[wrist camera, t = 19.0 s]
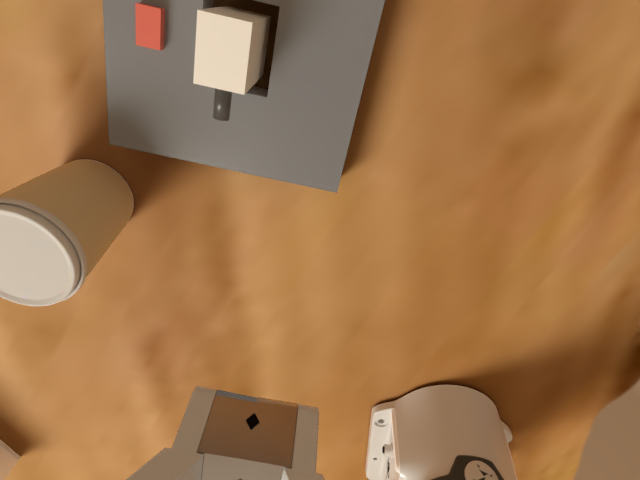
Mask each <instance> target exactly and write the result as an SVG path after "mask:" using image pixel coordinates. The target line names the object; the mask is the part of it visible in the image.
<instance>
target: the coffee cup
mask: <svg viewBox="0 0 640 480" xmlns="http://www.w3.org/2000/svg"><path fill="white" fill-rule="evenodd" d="M133 209H134V198H133V194H132V191H131V189H130V187H129V185H128V184H127V182H126V181H125V179H124V178H123V177H122V176H121V175H120V174H119V173H118V172H117V171H115V170H114V169H113V168H111V167H110V166H108V165H106V164H104V163H102V162H99V161H95V160H90V159H79V160H74V161H71V162H69V163H66V164H64V165H62V166H59V167H57V168H55V169H53V170H51V171H49V172H47V173H45V174H43V175H40V176H38V177H36V178H34V179H32V180H30V181H28V182H26V183H24V184H21V185H19V186H17V187H15V188H13V189H11V190H9V191H7V192H5V193H3V194H1V195H0V297H2V298H4V299H6V300H9V301H12V302H15V303H18V304H22V305H28V306H47V305H52V304H55V303H58V302H61V301H64V300H66V299H68V298H69V297H71V296H72V295H74V294H75V293H76V292H77V291H78V290H79V289H80V287H81V286H82V284H83V283H84V280H85V278H86V277H87V276H88V274H89V273H90V272H91V270H92V269H93V268H94V267H95V265H96V264H97V263H98V261H99V260H100V259H101V257H102V256H103V255H104V253H105V252H106V251H107V249H108V248H109V247H110V245H111V244H112V243H113V241H114V240H115V239H116V237H117V236H118V235H119V233H120V232H121V230H122V229H123V228H124V226H125V225H126V224H127V222H128V221H129V219H130V217H131V215H132V213H133Z"/></svg>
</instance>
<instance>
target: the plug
mask: <svg viewBox="0 0 640 480" xmlns="http://www.w3.org/2000/svg"><path fill="white" fill-rule="evenodd" d="M270 21H271V16H268V15H264V14H259V13H255V12H251V11H247V10H242V9H238V8H234V7H230V6H223V7H215V8H207V9H199V10H197V25H196V42H195V60H194V78H193V83H194V84H198V85H203V86H207V87H211V88H215V96H214V108H213V118H214V119H216V120H220V121H228V120H229V118H230V108H231V99H232V92H234V93H238V94H243V95H245V94H246V93H247V92H248V90H249V89H250V88H251V87H252V86H253V85H254V84H255V83H256V82H257V81H258V80H259V79H260V78H261V77H262V76H263V74H264V66H265V59H266V51H267V44H268V36H269V29H270Z"/></svg>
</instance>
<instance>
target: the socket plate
mask: <svg viewBox="0 0 640 480" xmlns="http://www.w3.org/2000/svg"><path fill="white" fill-rule="evenodd" d="M254 1H258V2H263V3H267V4H271V5H275V6H279V7H280V10H279V17H278V24H277V31H276V38H275V45H274V52H273V59H272V67H271V74H270V81H269V88H268V89H265V88H261V87H256V86H252V87H251V88H250V89H249V90H248V92H247V93H246V94H245V95H243V94H238V93H234V92H232V99H231V108H230V118H229V120H228V121H220V120H216V119H214V118H213V108H214V96H215V88H211V87H207V86H203V85H198V84H194V83H193V78H194V60H195V42H196V25H197V10H199V9H207V8H214V0H103V16H104V39H105V62H106V85H107V109H108V132H109V144H110V145H115V146H120V147H124V148H129V149H134V150H139V151H143V152H148V153H153V154H157V155H162V156H167V157H172V158H176V159H181V160H186V161H190V162H195V163H200V164H204V165H209V166H214V167H219V168H223V169H228V170H233V171H237V172H242V173H247V174H252V175H256V176H261V177H266V178H270V179H275V180H280V181H285V182H289V183H294V184H299V185H303V186H308V187H313V188H317V189H322V190H327V191H332V192H336V193H337V191H338V187H339V183H340V179H341V175H342V171H343V167H344V163H345V159H346V155H347V151H348V147H349V143H350V139H351V135H352V131H353V126H354V122H355V118H356V114H357V110H358V106H359V102H360V98H361V94H362V90H363V86H364V82H365V78H366V74H367V70H368V66H369V62H370V58H371V54H372V50H373V46H374V42H375V38H376V34H377V30H378V26H379V22H380V18H381V14H382V10H383V6H384V2H385V0H254Z"/></svg>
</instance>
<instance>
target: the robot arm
mask: <svg viewBox="0 0 640 480" xmlns="http://www.w3.org/2000/svg"><path fill="white" fill-rule="evenodd" d="M318 423H319V410H318V408H317V407H311V406H305V405H299V404H298V405H297V403H291V402H285V401H278V400H272V399H266V398H260V397H258V398H255V397H250V396H245V395H241V394H236V393H231V392H226V391H221V390H216V389H211V388H206V387H200V386H196V388H195V389H194V391H193V393H192V396H191V398H190V401H189V404H188V406H187V409H186V412H185V414H184V417H183V420H182V422H181V425H180V427H179V430H178V433H177V435H176V438H175V441H174V443H173V446H172V449H171V448H164V449H163V450H162V451H160V452H159V453H158V454H157V455H156V456H154V457H153V458H152V459H151V460H150V461H148V462H147V463H146V464H145V465H143V466H142V467H141V468H140V469H139V470H137V471H136V472H135V473H134V474H133V475H131V476H130V477H129V478H128V479H126V480H325V479H324V477H323V475H322V474H319V473H316V460H317V442H318ZM512 438H513V437H512V433H511V430H510V428H509V427H508V426H507V425H506V424H505V423H504V422H502V421H501V419H500V417H499V414H498V410H497V408H496V406H495V404H494V403H493V402H492V401H491V400H490V399H489V398H488V397H487V396H486V395H484V394H483V393H481V392H479V391H477V390H474V389H471V388H468V387H464V386H458V385H435V386H429V387H425V388H421V389H418V390H415V391H413V392H411V393H409V394H407V395H405V396H403V397H401V398H400V399H398V400H395V401H391V402H386V403H382V404H379V405H376V406H374V407H373V409H372V413H371V422H370V431H369V440H368V449H367V459H366V468H365V470H366V476H367V478H368V479H370V480H517V476H516V472H515V468H514V464H513V460H512V457H511V453H510V449H509V445H508V443H509V442H511V440H512Z"/></svg>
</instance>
